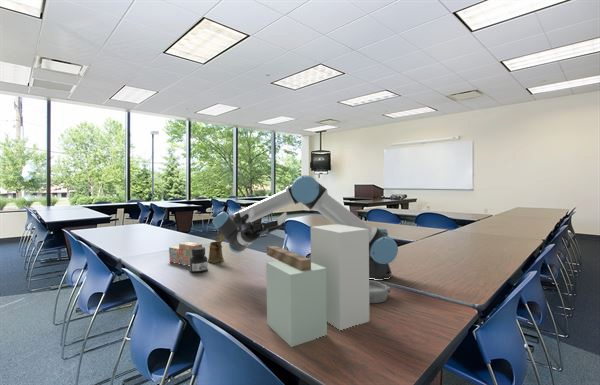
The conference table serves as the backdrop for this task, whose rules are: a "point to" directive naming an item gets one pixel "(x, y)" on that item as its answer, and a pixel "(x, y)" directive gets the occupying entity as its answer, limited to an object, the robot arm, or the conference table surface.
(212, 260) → the brown burlap sack
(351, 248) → the off-white rectangular block
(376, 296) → the dish
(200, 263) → the ink bottle
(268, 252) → the walnut bar
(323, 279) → the low stand
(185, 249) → the stack of blocks
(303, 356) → the conference table surface
